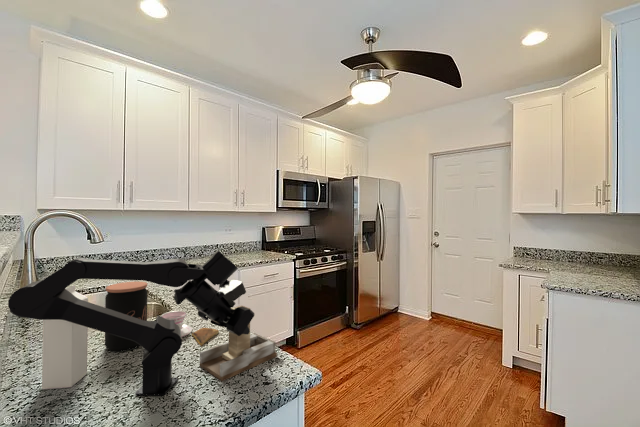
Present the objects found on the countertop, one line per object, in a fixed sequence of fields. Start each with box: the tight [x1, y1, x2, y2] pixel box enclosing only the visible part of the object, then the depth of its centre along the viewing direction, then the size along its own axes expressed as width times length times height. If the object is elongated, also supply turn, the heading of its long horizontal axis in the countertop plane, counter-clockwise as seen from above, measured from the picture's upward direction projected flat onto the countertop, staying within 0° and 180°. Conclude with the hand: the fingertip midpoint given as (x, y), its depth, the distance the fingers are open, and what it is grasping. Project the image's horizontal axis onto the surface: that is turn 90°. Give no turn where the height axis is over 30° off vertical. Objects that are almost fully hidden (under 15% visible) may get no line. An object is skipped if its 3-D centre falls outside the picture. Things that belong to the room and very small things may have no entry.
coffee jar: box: [104, 281, 148, 353], centre depth 90 cm, size 11×11×18 cm
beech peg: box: [222, 305, 251, 361], centre depth 80 cm, size 6×6×13 cm
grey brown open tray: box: [199, 332, 278, 382], centre depth 81 cm, size 17×11×4 cm, turn 139°
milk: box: [41, 284, 89, 390], centre depth 70 cm, size 6×6×22 cm
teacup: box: [160, 310, 193, 337], centre depth 100 cm, size 12×12×6 cm
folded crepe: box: [191, 327, 220, 347], centre depth 96 cm, size 11×8×2 cm
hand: (244, 330), depth 81 cm, fingers closed on beech peg, 4 cm apart
